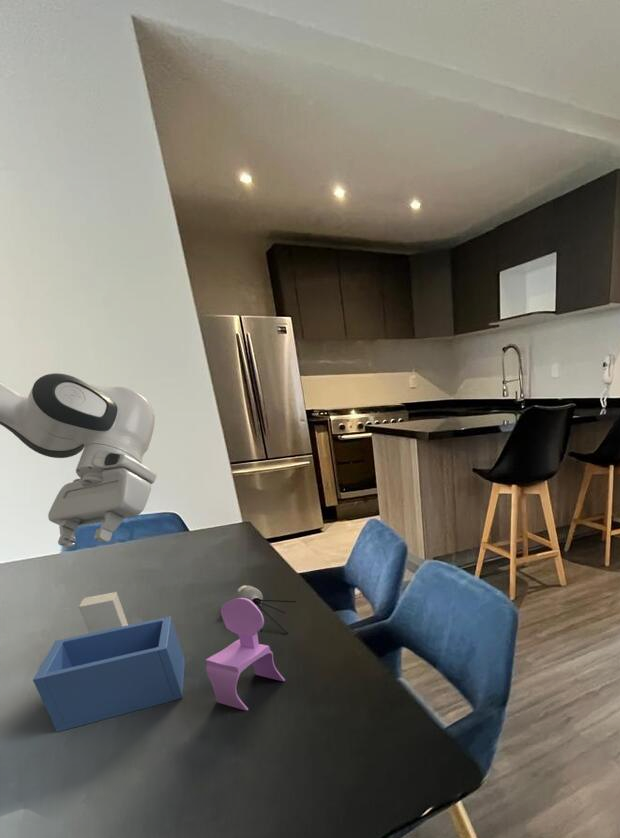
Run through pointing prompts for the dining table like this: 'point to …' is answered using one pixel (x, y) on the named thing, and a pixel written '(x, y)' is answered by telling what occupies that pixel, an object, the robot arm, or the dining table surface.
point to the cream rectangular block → (102, 612)
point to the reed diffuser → (257, 599)
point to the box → (111, 673)
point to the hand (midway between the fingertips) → (82, 543)
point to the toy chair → (240, 652)
